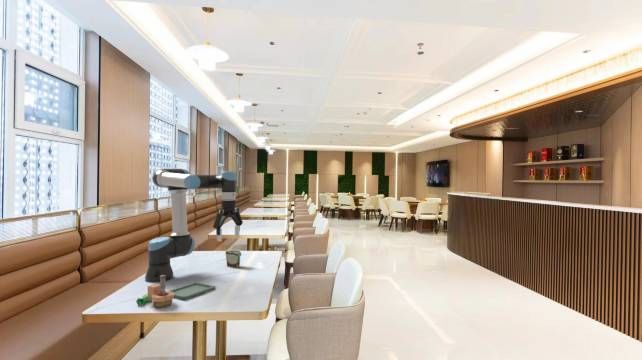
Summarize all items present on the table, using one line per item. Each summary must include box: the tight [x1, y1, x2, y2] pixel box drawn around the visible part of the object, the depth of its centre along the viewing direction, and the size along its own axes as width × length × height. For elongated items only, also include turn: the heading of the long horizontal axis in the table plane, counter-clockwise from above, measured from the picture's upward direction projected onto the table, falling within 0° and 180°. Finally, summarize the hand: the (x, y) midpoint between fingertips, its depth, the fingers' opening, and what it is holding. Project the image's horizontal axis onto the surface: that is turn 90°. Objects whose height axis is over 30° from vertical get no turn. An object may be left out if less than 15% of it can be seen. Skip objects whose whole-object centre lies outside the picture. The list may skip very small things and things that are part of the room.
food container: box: [224, 250, 242, 269], centre depth 236 cm, size 12×6×10 cm, turn 58°
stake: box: [152, 275, 173, 309], centre depth 165 cm, size 8×8×14 cm
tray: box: [168, 281, 216, 301], centre depth 184 cm, size 20×15×2 cm
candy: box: [135, 292, 152, 306], centre depth 171 cm, size 12×3×4 cm
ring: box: [147, 283, 174, 302], centre depth 166 cm, size 9×13×5 cm
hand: (228, 239), depth 192 cm, fingers open, 13 cm apart
